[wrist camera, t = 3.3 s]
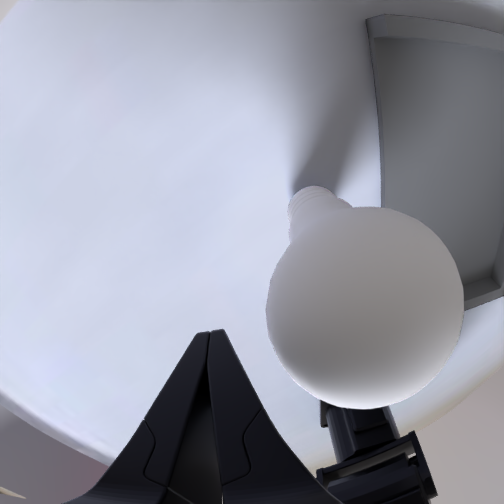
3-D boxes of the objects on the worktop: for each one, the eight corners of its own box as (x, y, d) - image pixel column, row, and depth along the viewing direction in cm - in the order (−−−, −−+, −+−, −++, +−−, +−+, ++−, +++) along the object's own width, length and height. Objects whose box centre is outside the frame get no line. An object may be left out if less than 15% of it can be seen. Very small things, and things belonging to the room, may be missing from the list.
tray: (492, 279, 20) (505, 294, 19) (375, 315, 21) (385, 336, 19) (515, 42, 11) (537, 45, 9) (365, 19, 11) (384, 14, 9)
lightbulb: (228, 173, 15) (235, 366, 6) (347, 127, 14) (520, 243, 5) (273, 270, 18) (314, 461, 9) (374, 230, 17) (483, 389, 8)
